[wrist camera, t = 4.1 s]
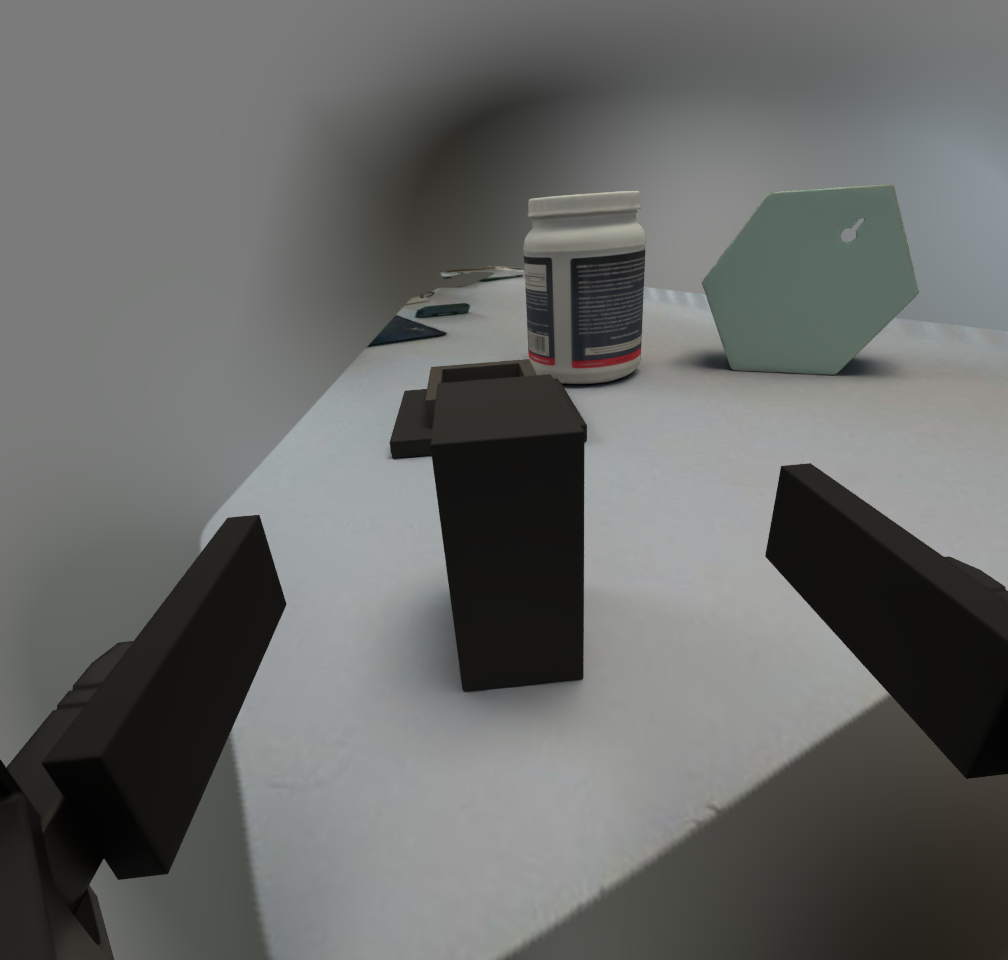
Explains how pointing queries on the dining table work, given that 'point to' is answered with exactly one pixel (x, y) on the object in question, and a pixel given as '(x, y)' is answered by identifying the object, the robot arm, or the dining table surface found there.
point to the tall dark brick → (512, 528)
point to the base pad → (420, 404)
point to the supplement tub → (585, 286)
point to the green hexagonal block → (811, 280)
